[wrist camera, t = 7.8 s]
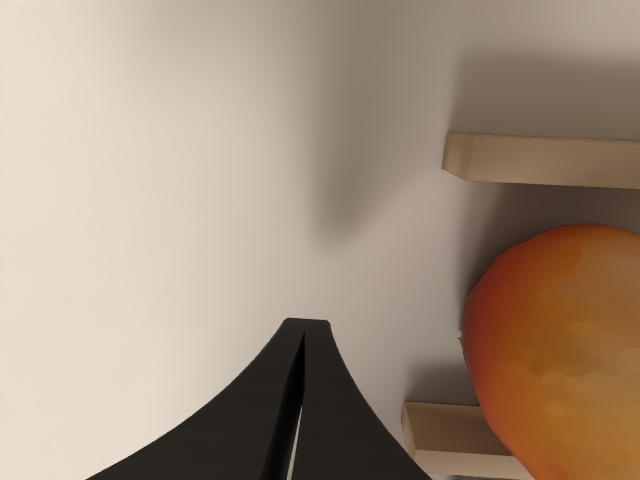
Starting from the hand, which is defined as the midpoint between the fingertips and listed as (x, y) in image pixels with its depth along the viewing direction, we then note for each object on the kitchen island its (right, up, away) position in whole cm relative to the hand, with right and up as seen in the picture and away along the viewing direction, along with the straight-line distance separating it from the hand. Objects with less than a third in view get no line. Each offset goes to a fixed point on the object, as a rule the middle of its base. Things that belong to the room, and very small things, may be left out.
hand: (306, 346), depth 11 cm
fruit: (+9, +1, +3) cm, 10 cm away
